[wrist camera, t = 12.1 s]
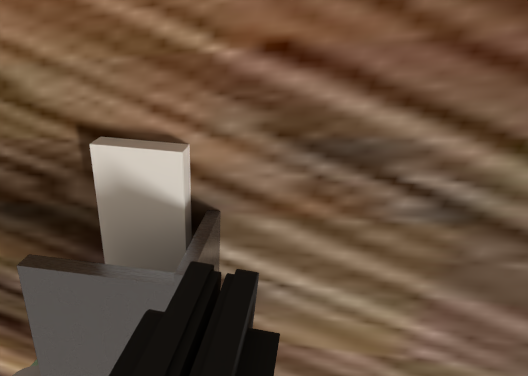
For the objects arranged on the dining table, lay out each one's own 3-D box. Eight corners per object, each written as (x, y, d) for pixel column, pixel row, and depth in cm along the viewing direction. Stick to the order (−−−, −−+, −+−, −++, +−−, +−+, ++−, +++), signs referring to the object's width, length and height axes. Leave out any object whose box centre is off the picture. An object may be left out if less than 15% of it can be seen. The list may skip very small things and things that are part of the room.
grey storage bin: (82, 195, 40) (14, 254, 31) (220, 211, 39) (190, 276, 30) (97, 305, 46) (42, 382, 37) (217, 322, 45) (192, 405, 36)
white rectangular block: (103, 135, 38) (89, 144, 36) (190, 142, 37) (182, 152, 35) (119, 281, 45) (109, 296, 42) (194, 289, 44) (187, 305, 42)
